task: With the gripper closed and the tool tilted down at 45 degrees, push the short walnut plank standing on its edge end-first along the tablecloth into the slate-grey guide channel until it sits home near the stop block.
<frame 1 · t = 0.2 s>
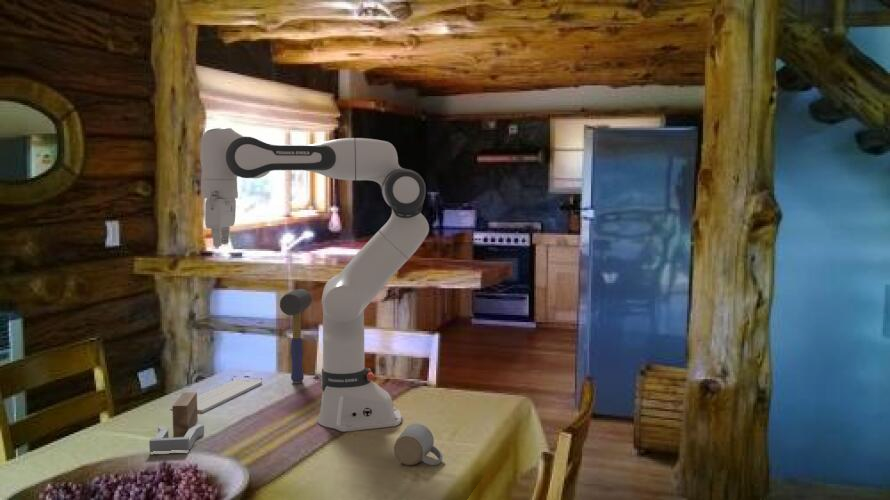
hand: (221, 245, 188), 48 cm above the table, tool pointing down, fingers open, 8 cm apart
grey channel: (174, 445, 177), on the table
baseboard molding: (217, 398, 218), on the table
walnut plank: (185, 428, 189), on the table
rubber mallet: (297, 383, 233), on the table
ceramic mug: (419, 461, 168), on the table
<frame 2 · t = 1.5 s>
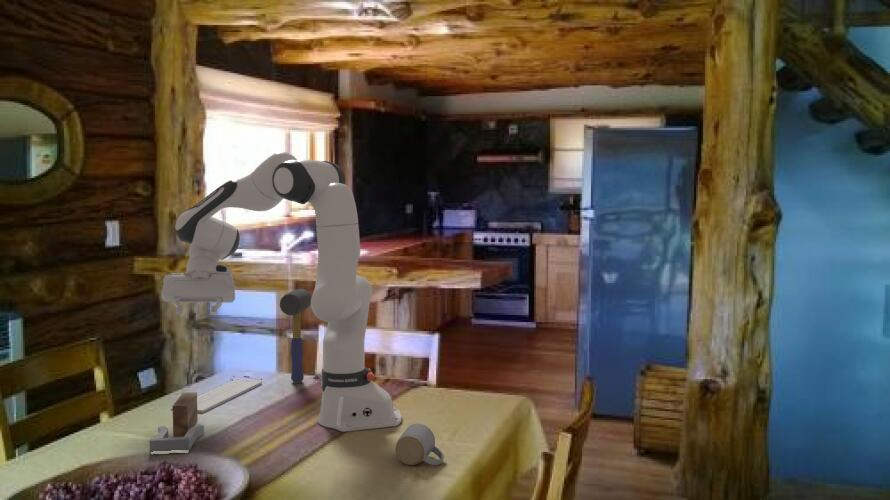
hand: (196, 312, 206), 27 cm above the table, tool tilted 45°, fingers open, 8 cm apart
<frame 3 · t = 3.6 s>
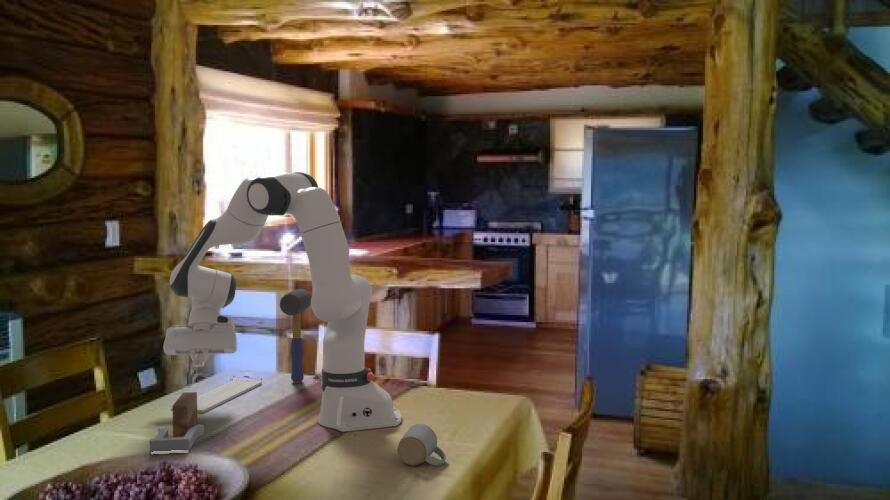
hand: (198, 365, 205), 12 cm above the table, tool tilted 45°, fingers closed
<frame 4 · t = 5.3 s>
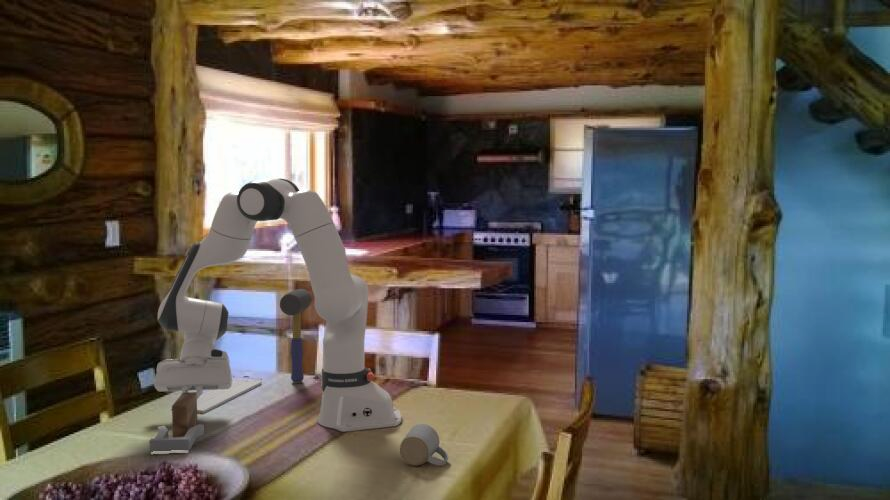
hand: (190, 403, 195), 5 cm above the table, tool tilted 45°, fingers closed, pressing on walnut plank
walnut plank: (185, 428, 189), on the table, touching gripper
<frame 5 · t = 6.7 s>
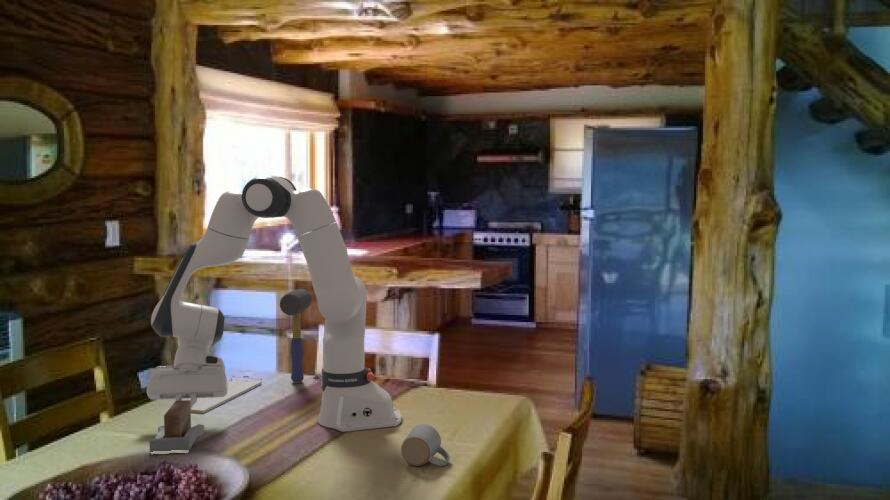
hand: (184, 411, 188), 5 cm above the table, tool tilted 45°, fingers closed, pressing on walnut plank
walnut plank: (178, 438, 182), on the table, touching gripper
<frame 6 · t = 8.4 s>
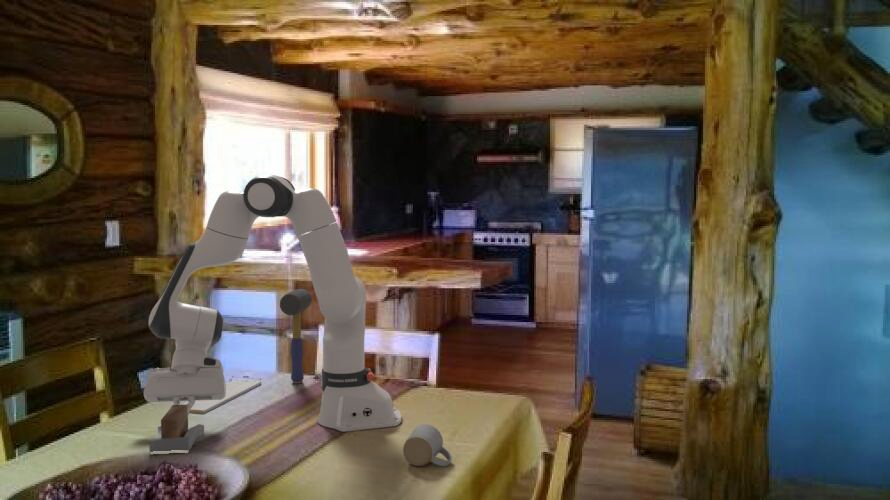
hand: (182, 414, 185), 5 cm above the table, tool tilted 45°, fingers closed
walnut plank: (175, 443, 179), on the table
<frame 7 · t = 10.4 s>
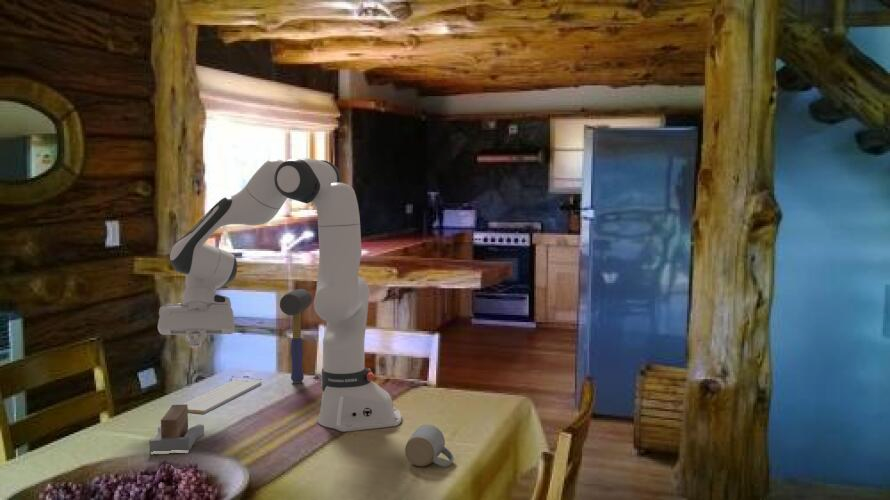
hand: (194, 346, 198), 19 cm above the table, tool tilted 45°, fingers closed
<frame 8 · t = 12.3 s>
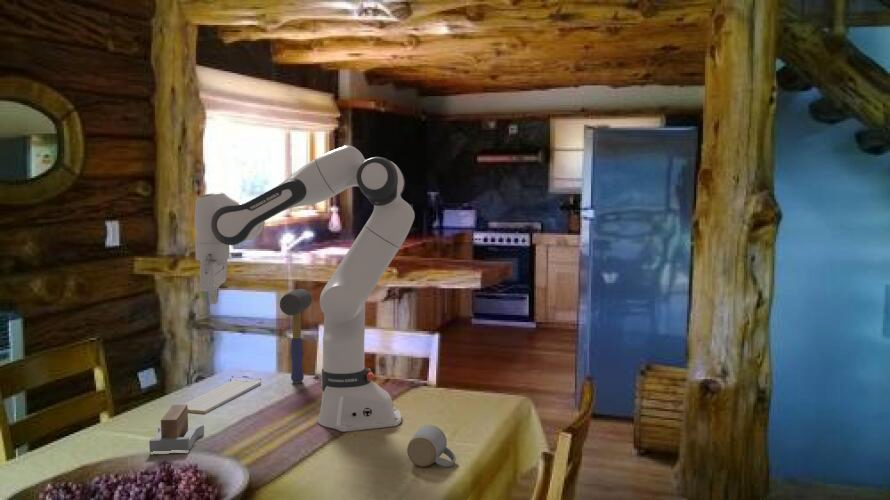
hand: (214, 303, 198), 31 cm above the table, tool pointing down, fingers closed
at the end: walnut plank 0.8 cm from the target spot, on the table; walnut plank tilted 0° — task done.
